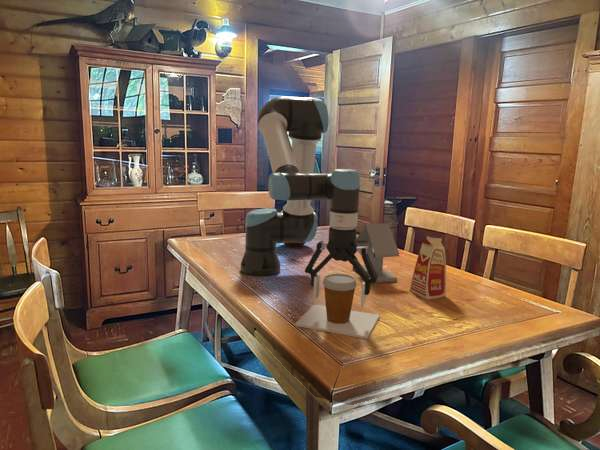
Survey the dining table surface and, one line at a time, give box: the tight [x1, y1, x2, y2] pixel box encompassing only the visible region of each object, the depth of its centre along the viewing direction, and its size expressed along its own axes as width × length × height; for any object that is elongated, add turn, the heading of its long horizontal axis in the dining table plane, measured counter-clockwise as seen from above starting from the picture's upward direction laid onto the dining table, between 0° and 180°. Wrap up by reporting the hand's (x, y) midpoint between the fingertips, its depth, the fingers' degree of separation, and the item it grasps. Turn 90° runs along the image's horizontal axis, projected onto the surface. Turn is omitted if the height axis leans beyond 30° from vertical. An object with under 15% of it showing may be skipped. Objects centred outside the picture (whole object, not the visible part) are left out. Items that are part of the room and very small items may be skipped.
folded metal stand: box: [352, 222, 400, 284], centre depth 172 cm, size 18×10×20 cm, turn 17°
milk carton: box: [409, 235, 447, 301], centre depth 153 cm, size 9×9×20 cm
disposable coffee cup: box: [322, 273, 358, 323], centre depth 128 cm, size 10×10×12 cm
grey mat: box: [294, 304, 380, 340], centre depth 129 cm, size 20×16×1 cm
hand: (339, 301), depth 128 cm, fingers open, 13 cm apart
